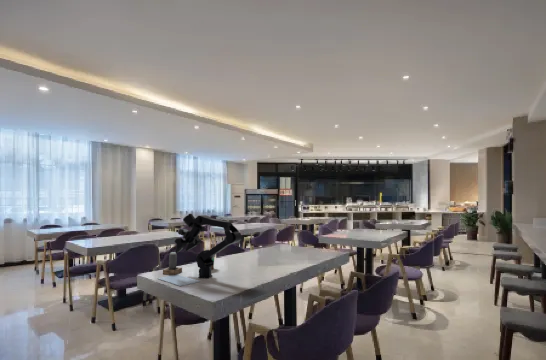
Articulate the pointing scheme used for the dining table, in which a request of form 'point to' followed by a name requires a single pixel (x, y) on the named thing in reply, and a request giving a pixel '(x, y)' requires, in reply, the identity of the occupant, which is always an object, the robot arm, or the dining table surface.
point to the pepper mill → (172, 261)
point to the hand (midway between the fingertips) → (181, 251)
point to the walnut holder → (172, 271)
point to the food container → (213, 261)
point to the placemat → (178, 280)
